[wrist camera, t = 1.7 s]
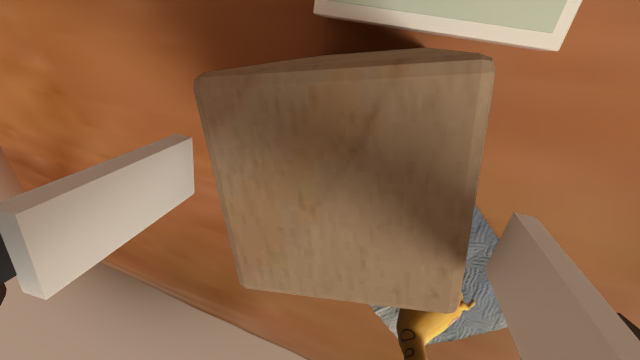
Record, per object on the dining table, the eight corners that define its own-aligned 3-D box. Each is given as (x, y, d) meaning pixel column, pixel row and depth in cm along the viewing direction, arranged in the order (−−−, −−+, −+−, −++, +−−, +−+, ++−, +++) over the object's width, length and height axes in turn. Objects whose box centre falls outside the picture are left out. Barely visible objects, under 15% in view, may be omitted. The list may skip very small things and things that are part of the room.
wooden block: (325, 155, 32) (237, 291, 14) (318, 55, 28) (183, 74, 10) (422, 155, 30) (460, 321, 12) (429, 46, 26) (504, 52, 8)
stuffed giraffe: (338, 266, 38) (304, 394, 24) (473, 201, 31) (538, 334, 17) (407, 346, 41) (412, 502, 27) (545, 306, 34) (651, 493, 20)
